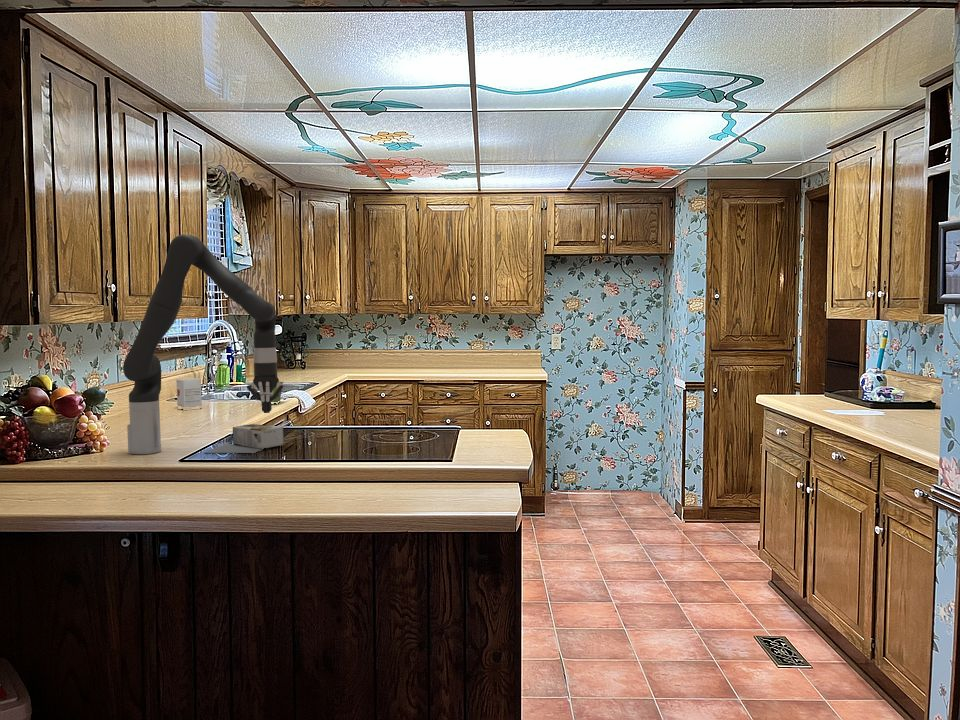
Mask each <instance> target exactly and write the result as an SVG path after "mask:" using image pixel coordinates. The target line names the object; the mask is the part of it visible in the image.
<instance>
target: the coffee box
mask: <svg viewBox="0 0 960 720" xmlns="http://www.w3.org/2000/svg"><path fill="white" fill-rule="evenodd" d="M232 444H234V445H241V446H247V447H254V448H260V449H264V448H266V449H270V448H273V447H277V446H279V447H280V446H284V428H283V426H274V425H266V424H256V423H250V424H249V423H248V424H243V425H236V426H232ZM264 450H265V449H264Z"/></svg>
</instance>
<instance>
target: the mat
mask: <svg viewBox="0 0 960 720" xmlns="http://www.w3.org/2000/svg"><path fill="white" fill-rule="evenodd" d="M261 450H262V449H260V448H254V447H247V446H241V445H234V444H233V443H224V444H222V445H219V446H217V447H215V448H212V449H210V450H207V451H205V452H204V453H256V452H258V451H260V452H261ZM262 451H263V450H262ZM258 453H259V452H258ZM256 454H257V453H256Z"/></svg>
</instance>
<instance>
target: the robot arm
mask: <svg viewBox="0 0 960 720" xmlns="http://www.w3.org/2000/svg"><path fill="white" fill-rule="evenodd" d="M192 265H193V267H195V268H197V269H198V270H200V271H201V272H203V273H204V274H205V275H206V276H207V277H208V278H210V280H212V282H213V283H214V284H215V285H216V286H217V287H218V288H219V289H220V290H221V292H223V293H224V294H225V296H227V297H229V298H230V299H231V300H232V301H233V302H235V303H236V304H237V305H239V306H240V307H241V308H242V309H243V310H244V311H245V312H246V313H247V314H248V315H249V316H250V317H251V318H252V319H254V324H255V325H254V327H255V329H254V334H253V379H252V383H250V384H248V385H247V386H246V389H247V390H248V391H249V393H251V395H252V396H253V398H254V399H255V400H256V401H260V402H261V410H262V412H263V413H264V414H270V413H271V412H272V410H273V409H272V408H273V407H272V406H273V405H271V402H272V400H275V399H277V398H278V396H279V395H280V393H281V394H282V393H283V391H284V390H285V388H286V385H285V384H283V385H282V384H281V383H280V382H281V381H280V380H279V378H278V355H277V348H276V347H277V346H276V345H277V344H276V342H277V341H276V322H277V314H276V313H277V312H276V308H275V306H274V305H273V304H272V303H271V302H269V301H267V300H265V299H263V297H261V296H260V295H259V294H257V293H256V292H255V290H254V289H253V288H252V287H251V286H250V285H249V284H247V283H246V282H245V281H244V280H243V279H242V278H240V277H239V276H238V275H237V274H235V273H234V272H233V271H232V270H230V268H227V266H226V265H224V264H223V263H222V262H221V261H220V260H219V259H218V258H217V257H216V256H215V255H214V254H213V253H212V252H211V251H210V250H209V248H207V246H206V245H205V244H204V243H203V241H202V240H201V239H199V237H197V236H195V235H192V234H186V233H185V234H179V235H177V236H175V237H174V238H173V239H172V240H171V242H170V244H169V246H168V249H167V253H166V258H165V263H164V266H163V269H162V272H161V274H160V276H159V278H158V281H157V283H156V286H155V287H154V291H153V293H152V295H151V297H150V301H149V303H148V305H147V308H146V311H145V313H144V317H143V319H142V322H141V323H140V327H139V329H138V331H137V334H136V337H135V339H134V341H133V343H132V345H131V347H130V349H129V351H128V353H126V357H125V358H124V361H123V363H122V372H123V375H124V377H125V378H126V379H127V380H129V381H131V382H134V384H133V385H134V386H133V387H132V388H133V389H132V390H131V391H130V392H129V394H128V411H129V424H127V426H126V431H127V449H128V454H132V455H148V454H149V455H150V454H157V453H160V452H161V451H162V439H161V438H162V437H161V411H160V393H161V390H162V364H161V361H160V359H159V357H158V356H157V355H155V352H156V348H157V346H158V345H159V343H160V342H161V340H162V339H163V338H164V336H165V335H166V334H167V333H168V332H169V331H170V329H171V328H172V327H173V325H174V323H175V321H176V319H177V316H178V313H179V311H180V309H181V305H182V302H183V295H184V294H183V293H184V284H185V279H186V277H187V275H188V273H189V270H190V268H191V267H192ZM276 385H277V390H276V392H275V393H274V394H273V390H274V388H275V387H276ZM258 391H259V392H258ZM272 394H273V396H272Z"/></svg>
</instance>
